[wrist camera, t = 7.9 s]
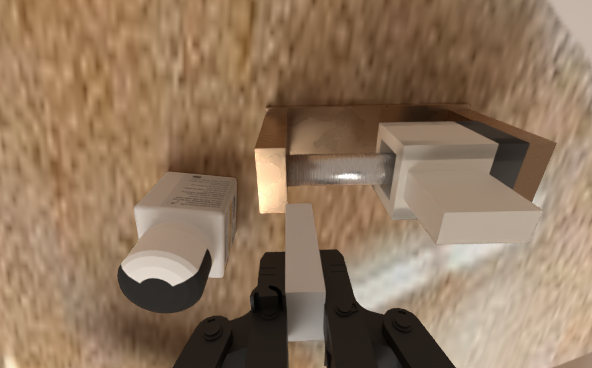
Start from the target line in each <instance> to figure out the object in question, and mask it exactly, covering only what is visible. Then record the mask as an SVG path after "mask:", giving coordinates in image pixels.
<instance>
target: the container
mask: <svg viewBox="0 0 592 368" xmlns="http://www.w3.org/2000/svg"><path fill="white" fill-rule="evenodd" d="M236 199H237V180H236V178H232V177H222V176H211V175H201V174H190V173H180V172H167V173H165V175H164V176H163V177H162V178H161V179H160V180H159V181H158V182H157V183H156V184H155V185H154V186H153V187H152V188H151V190H150V191H149V192H148V193H147V194H146V195H145V196H144V197H143V198H142V199H141V200H140V201H139V202H138V203H137V205H136V206H135V207H134V214H135V220H136V226H137V232H138V238H139V241H138V242H137V243H136V245H135V246H134V247H133V248H132V250H131V251H130V252H129V254H128V255H127V256H126V258H125V259H124V260H123V262H122V263H121V265H120V267H119V269H118V275H117V276H118V282H119V285H120V288H121V290H122V292H123V293H124V295H125V296H126V297H127V298H128V299H129V300H130V301H131V302H133V303H134V304H136V305H137V306H139V307H141V308H144V309H146V310H149V311H153V312H157V313H175V312H179V311H183V310H185V309H187V308H189V307H191V306H193V305H194V304H195V303H197V302H198V301H199V299H200V298H201V296H202V294H203V291H204V288H205V285H206V282H207V279H208V277H213V278H221V277H223V275H224V272H225V268H226V265H227V261H228V258H229V254H230V251H231V247H232V243H233V240H234V236H235V233H236Z"/></svg>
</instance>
